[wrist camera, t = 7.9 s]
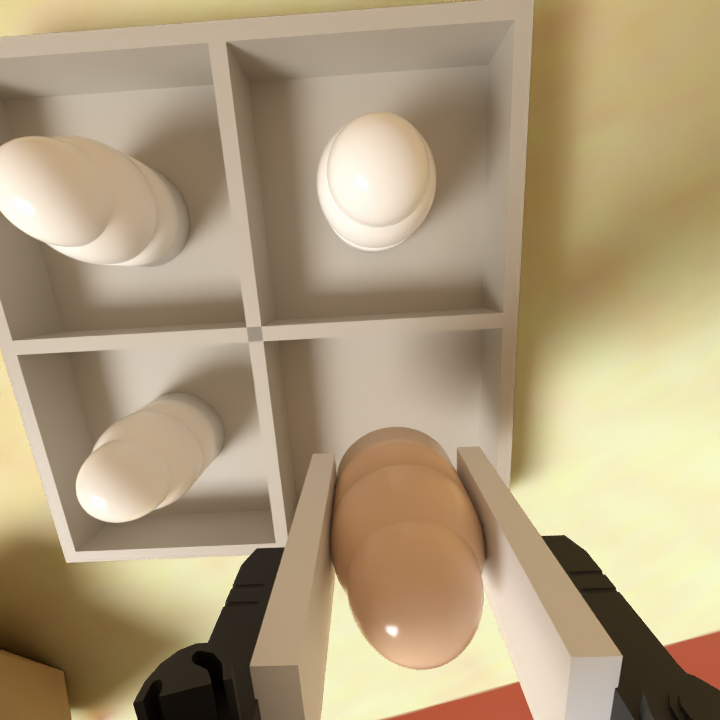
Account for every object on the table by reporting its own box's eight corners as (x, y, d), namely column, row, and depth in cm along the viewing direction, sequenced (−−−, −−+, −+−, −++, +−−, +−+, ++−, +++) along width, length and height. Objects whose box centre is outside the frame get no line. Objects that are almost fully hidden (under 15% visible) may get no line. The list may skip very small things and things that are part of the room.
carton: (111, 519, 19) (66, 562, 16) (-1, 91, 14) (-94, 44, 11) (484, 502, 19) (506, 544, 16) (498, 55, 14) (534, -5, 11)
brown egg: (340, 534, 13) (326, 733, 7) (332, 430, 12) (308, 565, 6) (453, 528, 13) (528, 723, 7) (454, 423, 12) (541, 554, 6)
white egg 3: (329, 256, 15) (309, 242, 10) (321, 152, 14) (294, 70, 9) (422, 250, 15) (457, 233, 10) (421, 145, 14) (459, 58, 9)
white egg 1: (105, 269, 15) (-39, 264, 10) (83, 167, 14) (-91, 98, 9) (196, 264, 15) (102, 256, 10) (180, 161, 14) (65, 88, 9)
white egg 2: (150, 470, 18) (54, 557, 12) (134, 394, 17) (21, 451, 11) (230, 466, 18) (169, 552, 12) (217, 390, 17) (145, 445, 11)
